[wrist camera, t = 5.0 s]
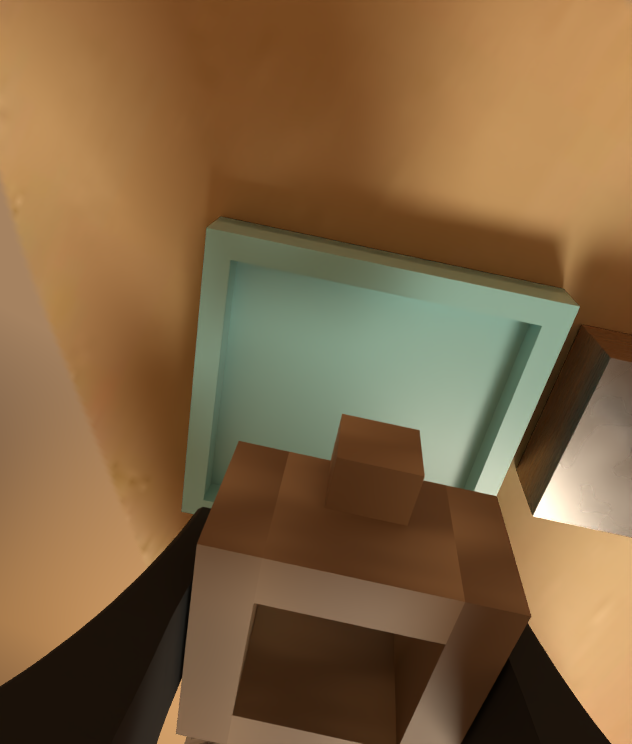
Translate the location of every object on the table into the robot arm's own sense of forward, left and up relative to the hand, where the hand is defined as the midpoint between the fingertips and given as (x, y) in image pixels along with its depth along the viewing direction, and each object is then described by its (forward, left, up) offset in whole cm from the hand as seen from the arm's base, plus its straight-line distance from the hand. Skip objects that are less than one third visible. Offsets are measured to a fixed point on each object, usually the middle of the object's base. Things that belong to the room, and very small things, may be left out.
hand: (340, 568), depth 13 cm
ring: (0, 0, 0) cm, 0 cm away
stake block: (-9, -2, -8) cm, 12 cm away
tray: (0, 0, -8) cm, 8 cm away
